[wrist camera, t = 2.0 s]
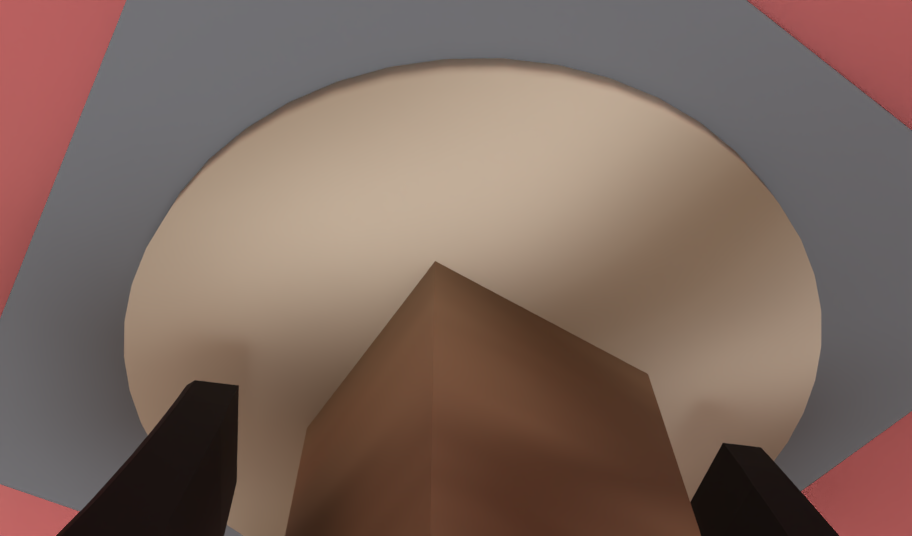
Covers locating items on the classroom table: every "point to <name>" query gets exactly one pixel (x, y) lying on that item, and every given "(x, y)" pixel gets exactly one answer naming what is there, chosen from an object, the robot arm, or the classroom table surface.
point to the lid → (478, 307)
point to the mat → (421, 40)
